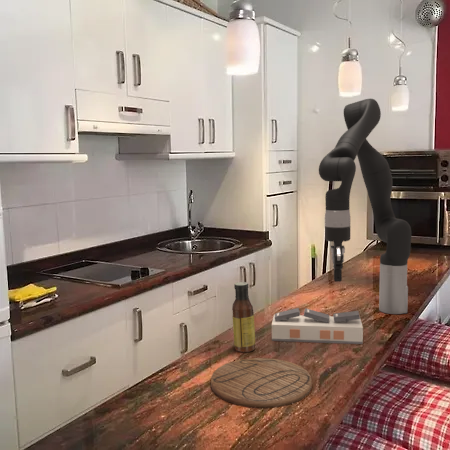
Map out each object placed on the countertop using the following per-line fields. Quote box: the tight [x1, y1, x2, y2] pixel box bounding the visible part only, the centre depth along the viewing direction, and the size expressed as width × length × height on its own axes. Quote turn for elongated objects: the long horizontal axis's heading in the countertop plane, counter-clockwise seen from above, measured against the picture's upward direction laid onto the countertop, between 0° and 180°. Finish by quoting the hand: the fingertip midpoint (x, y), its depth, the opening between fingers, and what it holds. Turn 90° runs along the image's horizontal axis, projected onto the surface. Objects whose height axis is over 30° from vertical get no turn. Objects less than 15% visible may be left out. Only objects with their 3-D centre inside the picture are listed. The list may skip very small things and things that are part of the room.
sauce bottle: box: [231, 281, 256, 353], centre depth 151 cm, size 6×6×20 cm
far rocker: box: [274, 307, 301, 321], centre depth 162 cm, size 8×4×2 cm, turn 80°
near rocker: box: [333, 310, 361, 322], centre depth 159 cm, size 8×4×2 cm, turn 80°
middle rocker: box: [303, 308, 330, 323], centre depth 161 cm, size 8×4×2 cm, turn 81°
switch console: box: [271, 314, 364, 345], centre depth 161 cm, size 27×10×5 cm, turn 81°
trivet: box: [210, 357, 312, 409], centre depth 130 cm, size 25×25×2 cm
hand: (337, 280), depth 158 cm, fingers closed
